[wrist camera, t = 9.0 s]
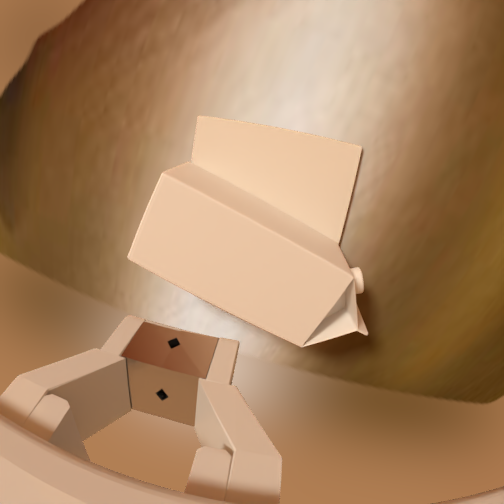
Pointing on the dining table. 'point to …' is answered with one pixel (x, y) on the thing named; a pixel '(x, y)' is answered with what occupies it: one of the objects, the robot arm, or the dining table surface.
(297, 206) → the mat
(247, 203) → the milk carton
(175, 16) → the dining table surface
